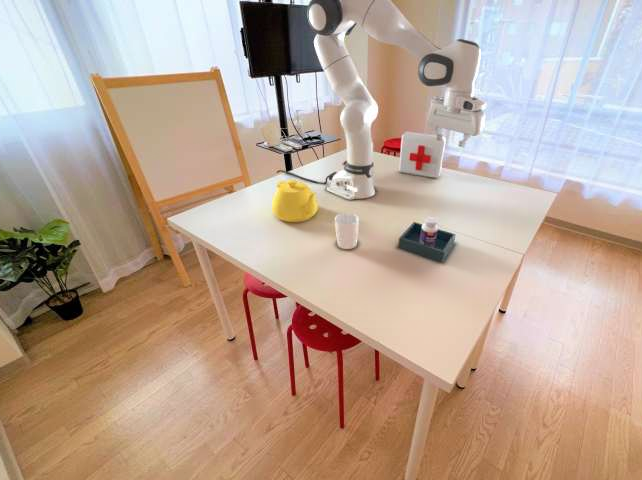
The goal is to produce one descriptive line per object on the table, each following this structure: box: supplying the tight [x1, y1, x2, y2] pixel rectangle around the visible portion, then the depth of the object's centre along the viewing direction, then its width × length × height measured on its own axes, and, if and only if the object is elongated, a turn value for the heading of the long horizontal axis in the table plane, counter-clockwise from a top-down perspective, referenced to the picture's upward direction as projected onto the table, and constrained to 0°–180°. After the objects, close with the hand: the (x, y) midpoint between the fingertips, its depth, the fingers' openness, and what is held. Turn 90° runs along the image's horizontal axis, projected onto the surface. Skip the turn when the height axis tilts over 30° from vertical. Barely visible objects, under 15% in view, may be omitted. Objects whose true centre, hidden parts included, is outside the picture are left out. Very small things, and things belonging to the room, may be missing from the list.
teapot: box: [271, 179, 319, 223], centre depth 118 cm, size 25×18×14 cm
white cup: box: [334, 212, 360, 250], centre depth 103 cm, size 8×8×10 cm
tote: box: [397, 221, 457, 263], centre depth 105 cm, size 16×13×4 cm
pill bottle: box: [419, 216, 439, 247], centre depth 103 cm, size 5×5×10 cm
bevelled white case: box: [398, 131, 447, 180], centre depth 154 cm, size 21×8×20 cm, turn 68°
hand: (450, 143), depth 107 cm, fingers open, 8 cm apart
